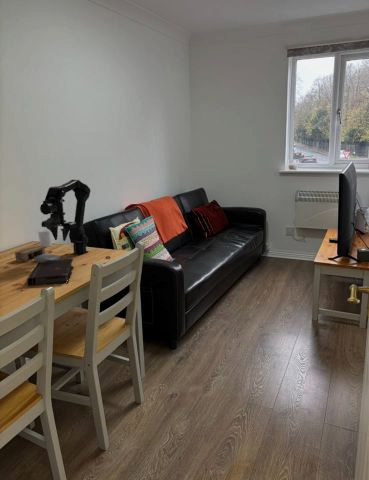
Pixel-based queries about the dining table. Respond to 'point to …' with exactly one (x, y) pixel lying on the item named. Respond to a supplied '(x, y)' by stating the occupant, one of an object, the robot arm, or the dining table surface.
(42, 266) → the diary
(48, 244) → the white cup
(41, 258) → the slate tile
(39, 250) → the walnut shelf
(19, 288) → the dining table surface
